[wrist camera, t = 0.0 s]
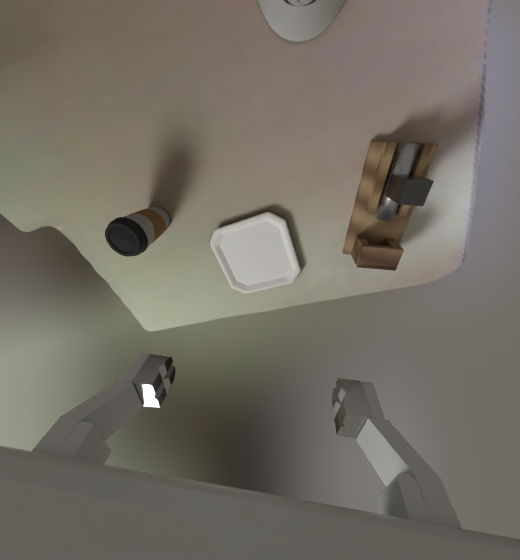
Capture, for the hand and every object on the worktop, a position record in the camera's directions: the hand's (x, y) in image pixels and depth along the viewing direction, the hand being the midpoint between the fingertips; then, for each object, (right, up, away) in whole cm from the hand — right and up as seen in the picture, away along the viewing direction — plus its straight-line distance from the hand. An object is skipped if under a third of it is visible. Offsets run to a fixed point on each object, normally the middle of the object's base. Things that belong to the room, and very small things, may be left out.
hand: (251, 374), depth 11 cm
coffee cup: (-26, +21, +48) cm, 59 cm away
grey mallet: (+28, +25, +36) cm, 52 cm away
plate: (0, +12, +51) cm, 52 cm away
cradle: (+28, +21, +40) cm, 53 cm away
